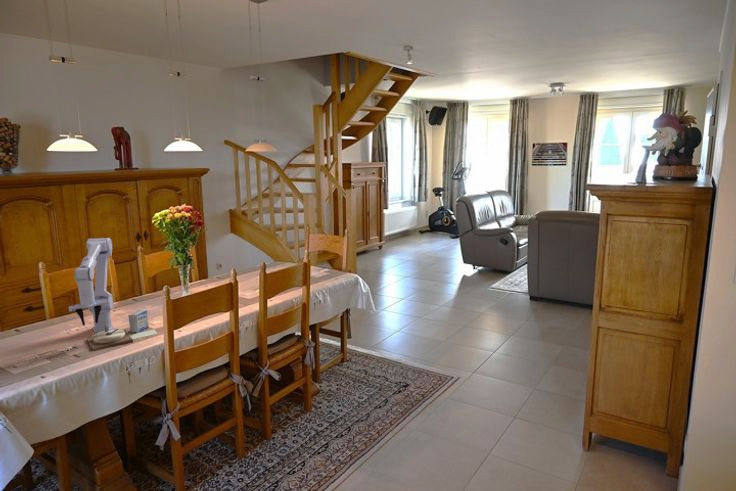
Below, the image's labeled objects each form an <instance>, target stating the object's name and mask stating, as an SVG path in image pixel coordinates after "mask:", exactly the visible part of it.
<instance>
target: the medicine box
mask: <svg viewBox="0 0 736 491" xmlns="http://www.w3.org/2000/svg"><path fill="white" fill-rule="evenodd" d="M148 316H149V315H148V311H147V310H145V309H140V310H137V311H135V312H133V313H130V314H128V322H129V324H128V325H129V332H130V333H134V334H135V333H140V332H144V331H145V330H146V329H148V328H149V317H148Z"/></svg>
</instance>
